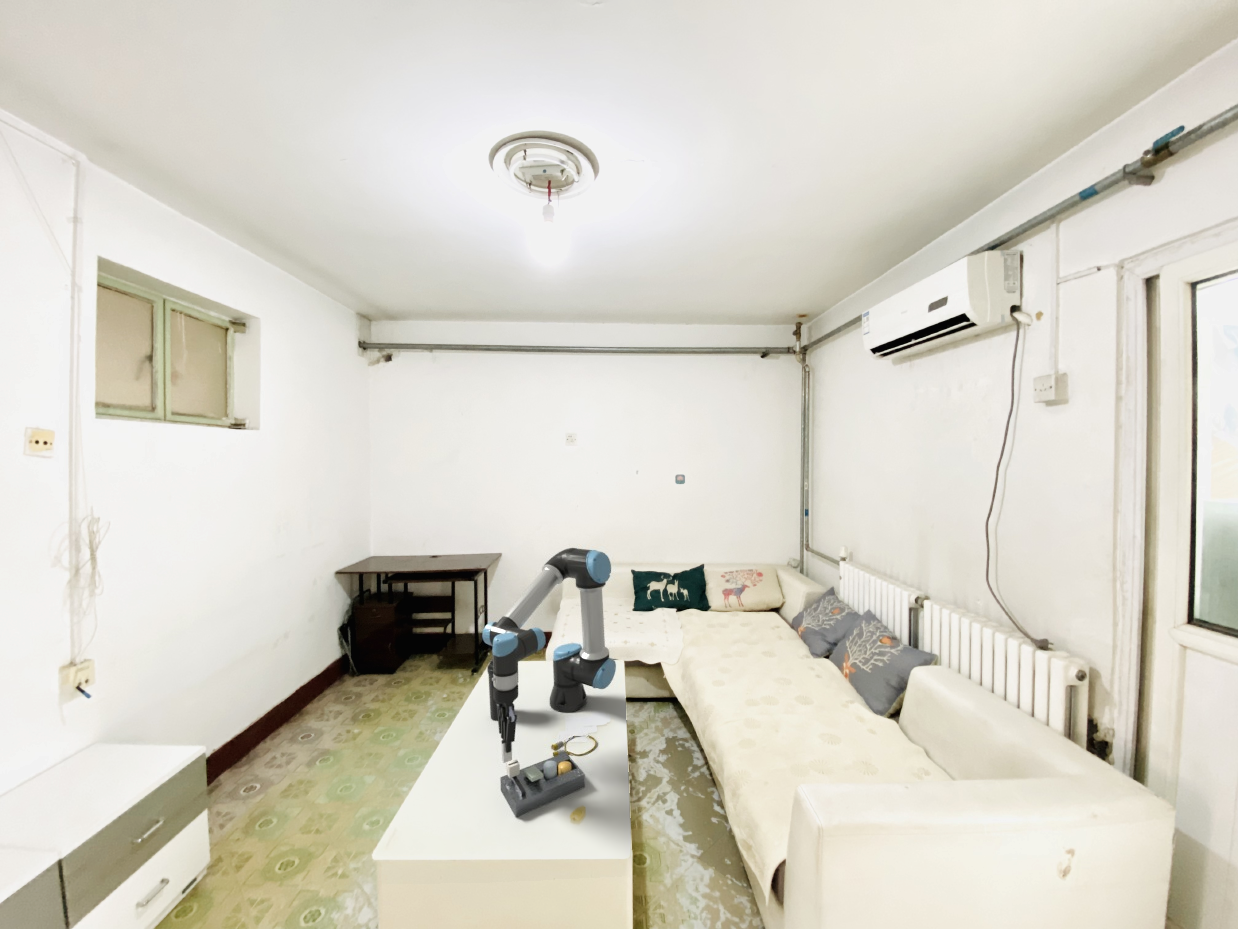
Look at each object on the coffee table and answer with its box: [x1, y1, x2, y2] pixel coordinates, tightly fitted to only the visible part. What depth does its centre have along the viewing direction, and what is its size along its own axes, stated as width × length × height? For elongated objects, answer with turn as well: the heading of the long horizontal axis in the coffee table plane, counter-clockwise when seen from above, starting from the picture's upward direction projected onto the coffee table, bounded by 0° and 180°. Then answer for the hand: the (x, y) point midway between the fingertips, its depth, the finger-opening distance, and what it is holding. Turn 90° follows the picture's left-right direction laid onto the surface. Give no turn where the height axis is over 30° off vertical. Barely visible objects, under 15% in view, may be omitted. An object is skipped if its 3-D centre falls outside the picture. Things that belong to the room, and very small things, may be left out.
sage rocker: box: [523, 766, 543, 782], centre depth 144 cm, size 4×7×1 cm, turn 32°
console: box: [499, 752, 586, 818], centre depth 145 cm, size 22×13×5 cm, turn 122°
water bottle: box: [486, 658, 498, 722], centre depth 186 cm, size 10×10×23 cm
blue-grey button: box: [543, 761, 557, 781], centre depth 147 cm, size 4×4×4 cm
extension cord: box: [550, 734, 598, 757], centre depth 166 cm, size 12×16×2 cm
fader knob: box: [506, 759, 521, 778], centre depth 144 cm, size 3×2×3 cm
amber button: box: [558, 761, 571, 776], centre depth 149 cm, size 4×4×4 cm
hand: (507, 760), depth 148 cm, fingers closed
